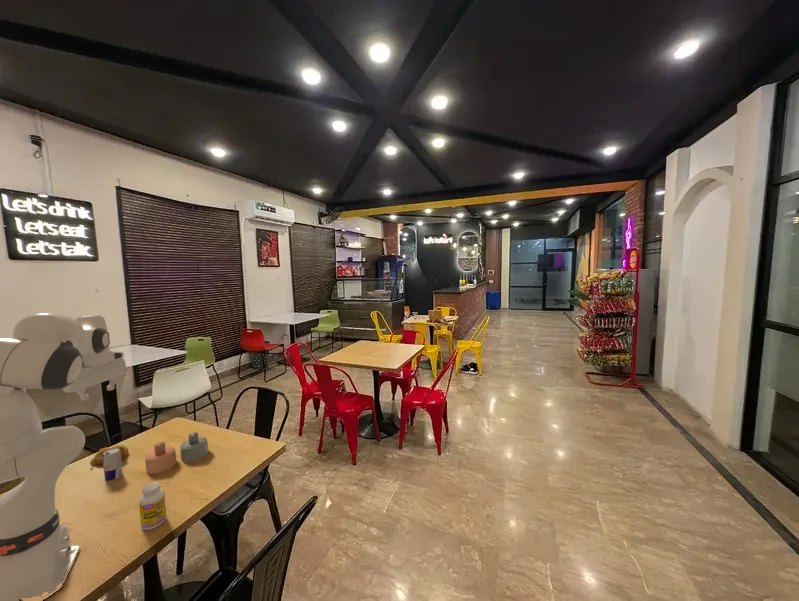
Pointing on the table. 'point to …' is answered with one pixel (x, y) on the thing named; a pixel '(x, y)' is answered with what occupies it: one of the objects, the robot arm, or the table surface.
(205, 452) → the grey knobbed stamp
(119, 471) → the energy drink
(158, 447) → the terracotta knobbed stamp
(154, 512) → the supplement bottle
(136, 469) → the table surface
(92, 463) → the bread roll
